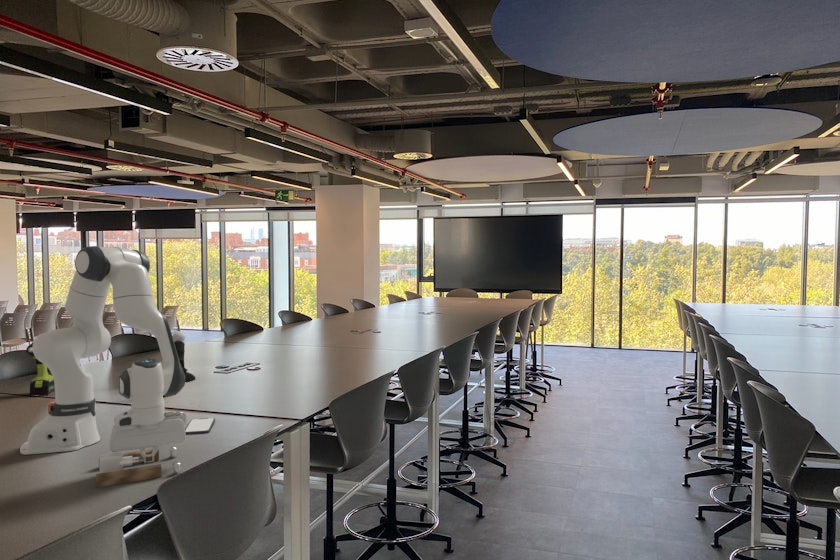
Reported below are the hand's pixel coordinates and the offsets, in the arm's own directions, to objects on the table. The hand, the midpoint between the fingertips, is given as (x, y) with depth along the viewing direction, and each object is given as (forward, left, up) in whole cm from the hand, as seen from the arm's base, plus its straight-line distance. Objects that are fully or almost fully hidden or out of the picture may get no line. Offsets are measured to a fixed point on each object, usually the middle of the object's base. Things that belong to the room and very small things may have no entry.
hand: (149, 461), depth 166 cm
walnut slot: (-5, 0, -2) cm, 6 cm away
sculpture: (+17, +126, -2) cm, 127 cm away
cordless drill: (-42, +124, -2) cm, 131 cm away
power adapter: (-7, 0, -2) cm, 7 cm away
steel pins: (+7, 0, -2) cm, 7 cm away
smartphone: (+18, +37, -3) cm, 42 cm away
